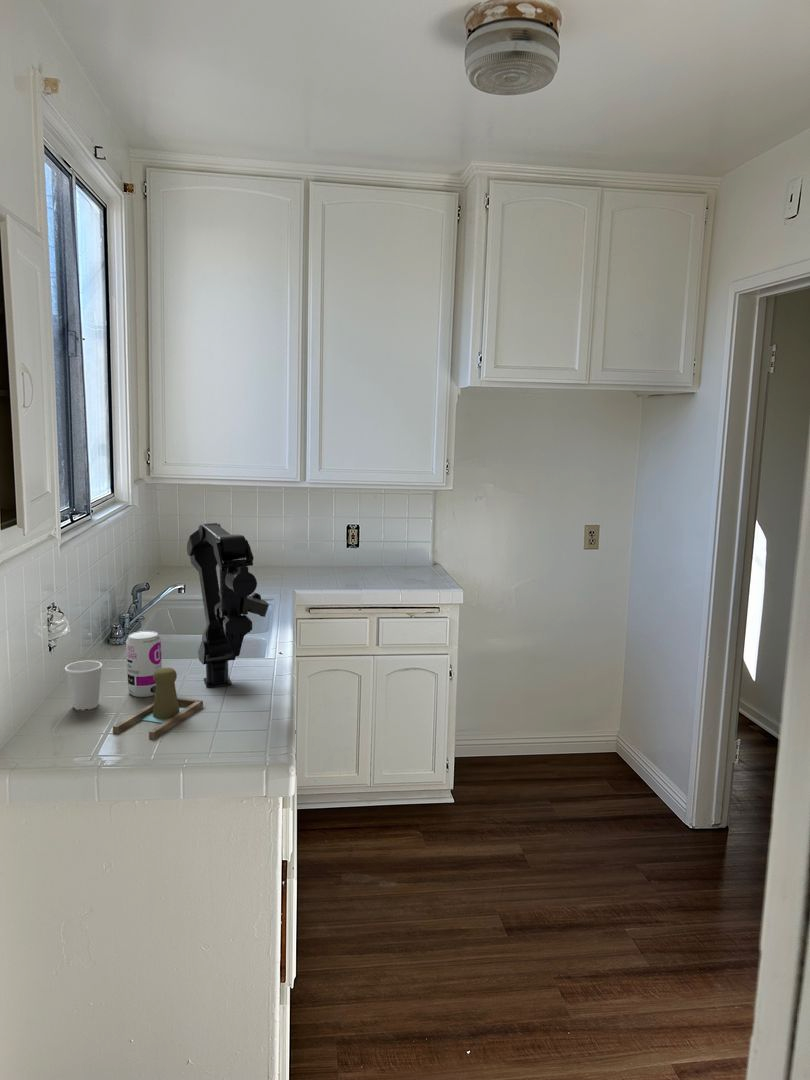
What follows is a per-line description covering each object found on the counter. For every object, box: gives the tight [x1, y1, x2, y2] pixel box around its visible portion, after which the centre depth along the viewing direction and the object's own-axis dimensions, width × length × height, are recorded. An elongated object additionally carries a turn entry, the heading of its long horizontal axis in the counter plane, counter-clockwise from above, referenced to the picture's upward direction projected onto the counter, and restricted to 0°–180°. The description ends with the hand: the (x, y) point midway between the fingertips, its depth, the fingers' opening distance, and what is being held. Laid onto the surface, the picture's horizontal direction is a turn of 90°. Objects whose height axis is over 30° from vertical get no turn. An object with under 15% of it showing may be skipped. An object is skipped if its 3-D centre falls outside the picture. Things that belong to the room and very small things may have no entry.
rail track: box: [112, 696, 204, 740], centre depth 185 cm, size 20×10×2 cm, turn 163°
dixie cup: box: [64, 660, 103, 711], centre depth 192 cm, size 8×8×10 cm
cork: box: [153, 667, 180, 719], centre depth 186 cm, size 6×6×11 cm
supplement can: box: [125, 630, 163, 698], centre depth 201 cm, size 8×8×15 cm
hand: (233, 650), depth 194 cm, fingers open, 9 cm apart
